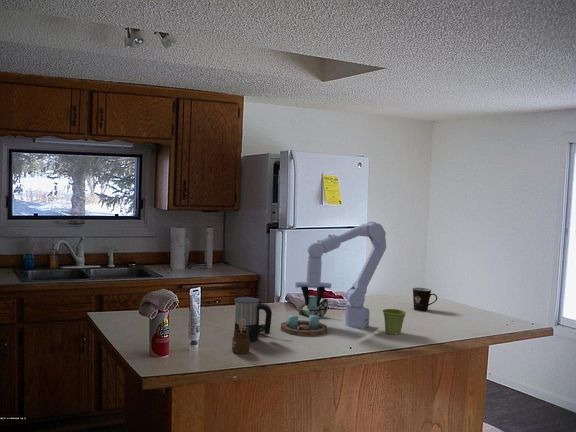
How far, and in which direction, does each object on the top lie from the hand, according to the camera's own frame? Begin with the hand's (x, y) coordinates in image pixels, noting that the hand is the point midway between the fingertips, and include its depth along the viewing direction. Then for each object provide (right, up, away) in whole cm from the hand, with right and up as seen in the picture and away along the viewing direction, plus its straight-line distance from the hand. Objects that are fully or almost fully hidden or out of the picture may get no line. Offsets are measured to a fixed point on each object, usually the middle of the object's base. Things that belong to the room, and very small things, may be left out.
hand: (312, 305), depth 249 cm
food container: (-2, -5, +21) cm, 22 cm away
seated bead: (0, -8, -8) cm, 11 cm away
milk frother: (-24, -9, -20) cm, 33 cm away
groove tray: (-4, -9, -10) cm, 14 cm away
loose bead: (0, -2, 0) cm, 2 cm away
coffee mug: (+54, -9, +41) cm, 69 cm away
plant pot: (+32, -11, -4) cm, 34 cm away
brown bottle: (-26, -10, -41) cm, 49 cm away
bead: (-8, -8, -10) cm, 15 cm away
